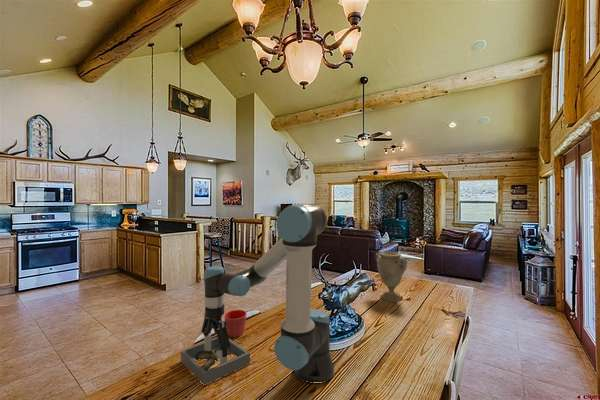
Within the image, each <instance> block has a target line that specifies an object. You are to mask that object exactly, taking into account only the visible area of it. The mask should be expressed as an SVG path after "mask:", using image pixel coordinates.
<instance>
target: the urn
mask: <svg viewBox="0 0 600 400" xmlns="http://www.w3.org/2000/svg"><path fill="white" fill-rule="evenodd" d="M401 256H402V254H401V253H400V252H397V251H384V252H379V253H377V252H376V253H375V261H376V265H377V272H378V274H379V276H380V279H381V281H382V284H384V285H385V286H386V287H387V288H388V291H384V292H383V294H381V295H380V299H382V300H384V301H388V302H390V303H396V302H398V301H401V300H403V299H404V298H403V297H404V296H403V295H400V293H398V292H395V289H396V288H397V286H398V285H400V282H401V281H402V278H403V274H405V272H406V270H407V266H408V261H407V259H405V258H403V257H401Z"/></svg>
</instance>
